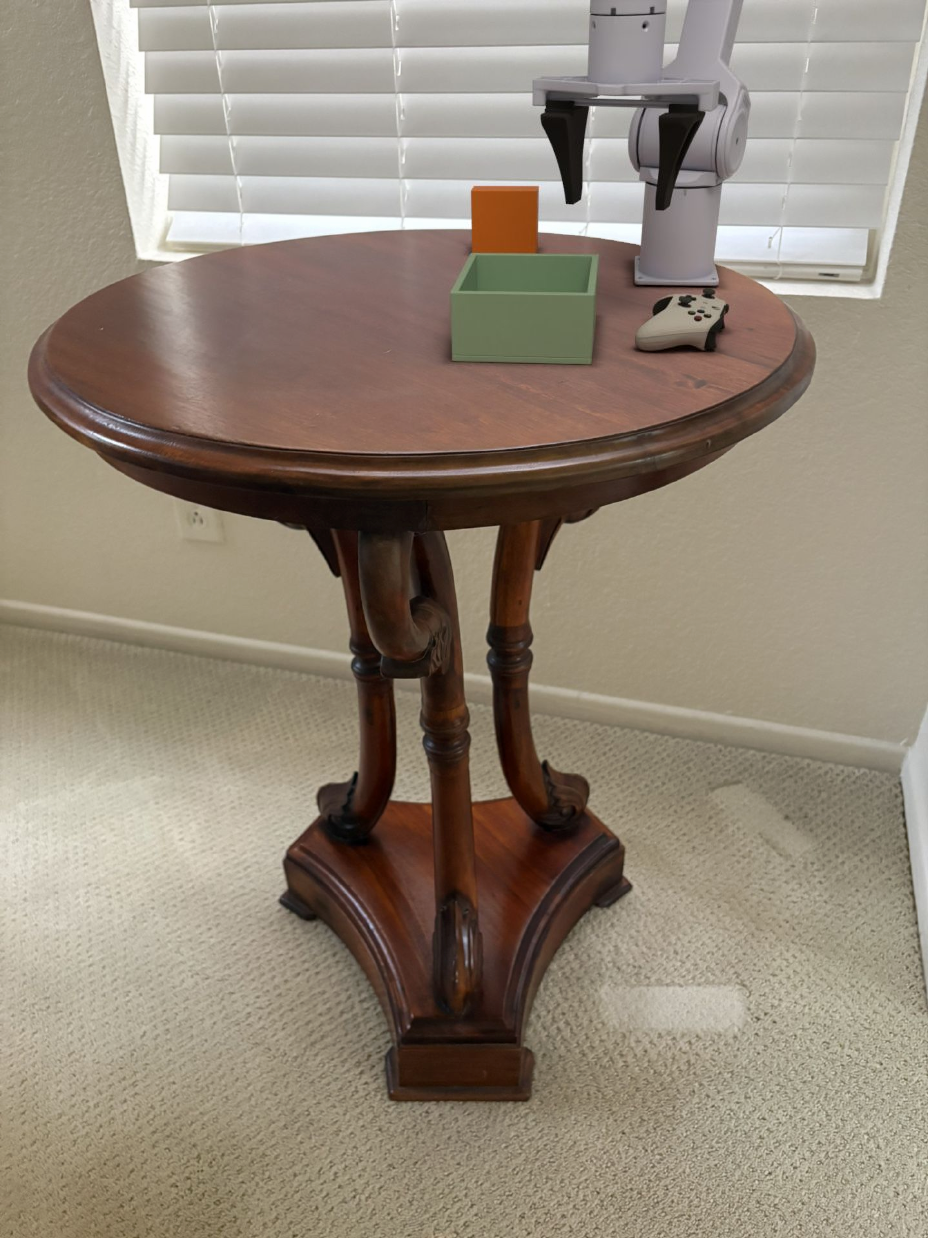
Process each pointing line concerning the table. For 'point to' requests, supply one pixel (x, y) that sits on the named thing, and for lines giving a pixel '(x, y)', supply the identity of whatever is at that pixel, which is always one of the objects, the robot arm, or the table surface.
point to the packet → (504, 219)
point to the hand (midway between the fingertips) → (617, 204)
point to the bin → (525, 308)
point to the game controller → (683, 322)
